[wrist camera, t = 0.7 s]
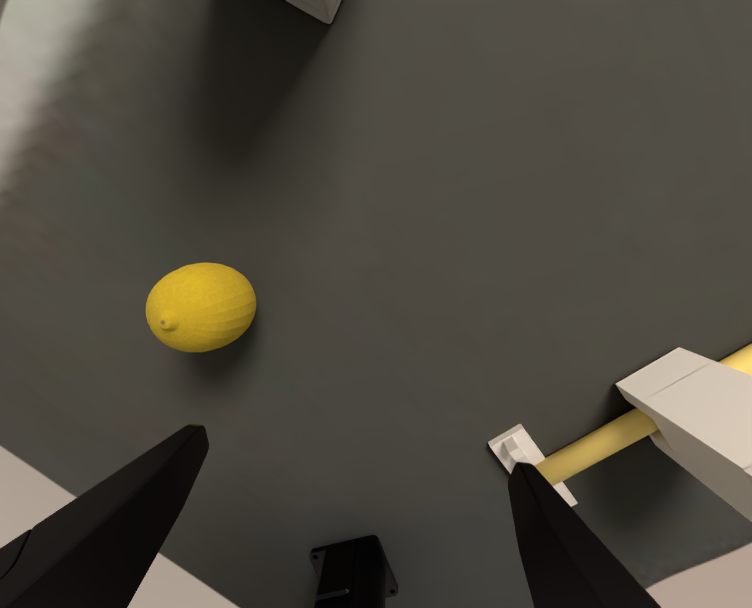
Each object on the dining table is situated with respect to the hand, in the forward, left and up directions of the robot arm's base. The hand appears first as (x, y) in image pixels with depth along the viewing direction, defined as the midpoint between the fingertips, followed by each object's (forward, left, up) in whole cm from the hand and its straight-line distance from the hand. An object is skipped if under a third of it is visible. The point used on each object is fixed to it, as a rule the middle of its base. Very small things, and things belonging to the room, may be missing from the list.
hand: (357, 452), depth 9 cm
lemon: (+5, +10, -15) cm, 19 cm away
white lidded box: (-13, -19, -15) cm, 27 cm away
